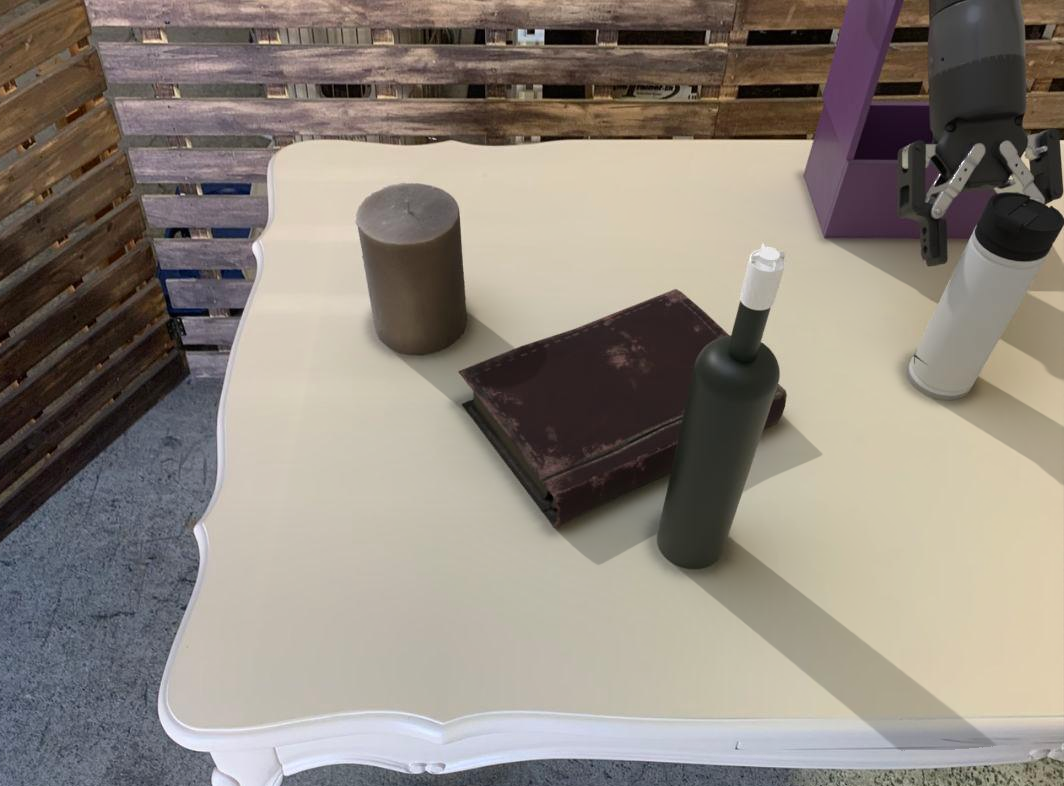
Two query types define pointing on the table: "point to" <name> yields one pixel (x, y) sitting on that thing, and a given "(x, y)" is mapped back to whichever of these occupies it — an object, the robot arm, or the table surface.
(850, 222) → the box
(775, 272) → the wine bottle
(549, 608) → the table surface
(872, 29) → the lid
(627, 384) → the diary
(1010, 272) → the travel mug
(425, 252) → the pillar candle
